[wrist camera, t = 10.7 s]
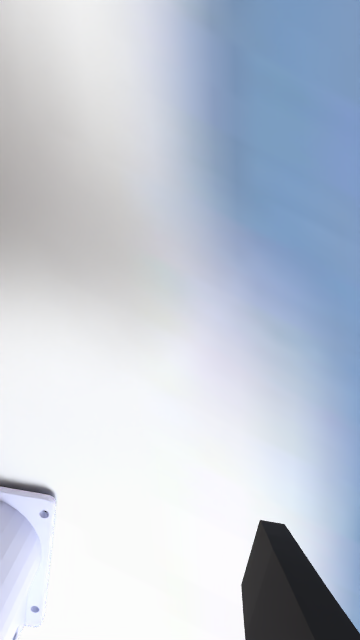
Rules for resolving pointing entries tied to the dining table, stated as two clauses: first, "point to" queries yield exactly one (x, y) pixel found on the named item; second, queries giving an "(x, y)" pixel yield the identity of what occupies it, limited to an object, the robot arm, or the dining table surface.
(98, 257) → the dining table surface
